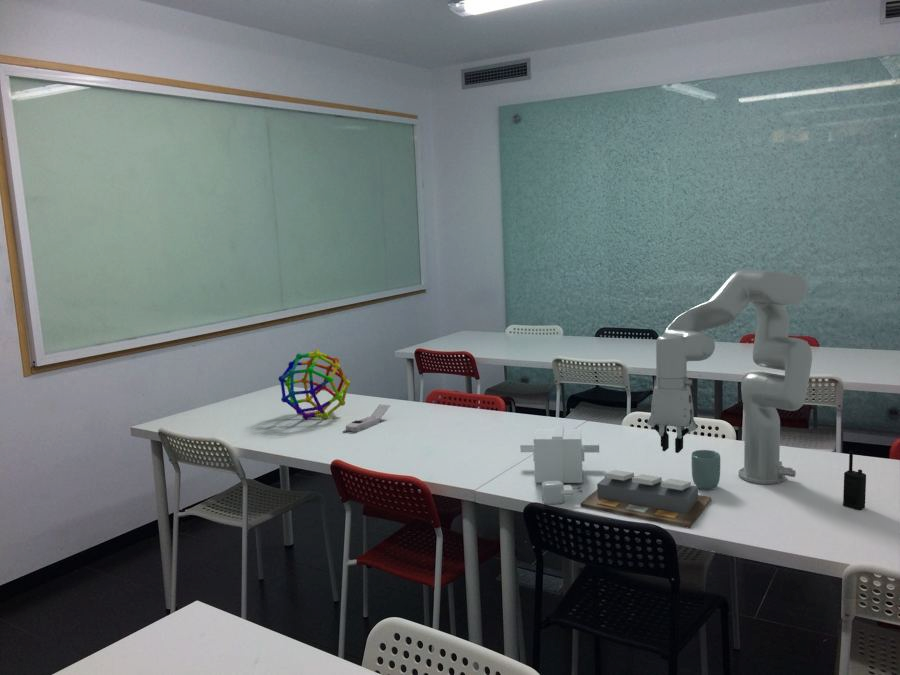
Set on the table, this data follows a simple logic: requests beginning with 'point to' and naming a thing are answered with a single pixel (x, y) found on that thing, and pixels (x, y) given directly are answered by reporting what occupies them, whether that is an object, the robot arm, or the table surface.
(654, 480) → the rocker
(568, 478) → the blocky voxel creature
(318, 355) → the geometric model
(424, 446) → the table surface
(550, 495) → the power adapter
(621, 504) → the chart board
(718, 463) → the cup
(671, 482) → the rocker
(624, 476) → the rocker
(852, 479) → the walkie-talkie
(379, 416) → the mobile phone
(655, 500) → the switch housing
